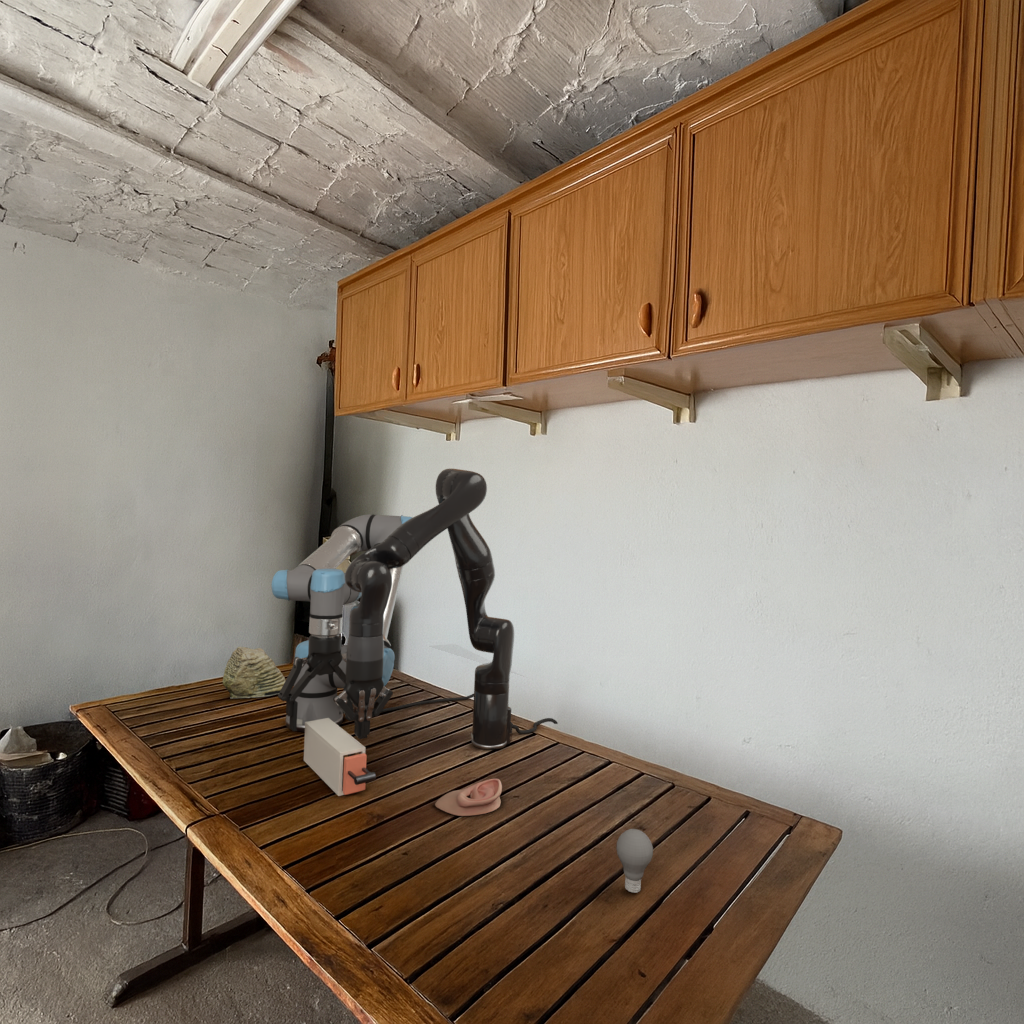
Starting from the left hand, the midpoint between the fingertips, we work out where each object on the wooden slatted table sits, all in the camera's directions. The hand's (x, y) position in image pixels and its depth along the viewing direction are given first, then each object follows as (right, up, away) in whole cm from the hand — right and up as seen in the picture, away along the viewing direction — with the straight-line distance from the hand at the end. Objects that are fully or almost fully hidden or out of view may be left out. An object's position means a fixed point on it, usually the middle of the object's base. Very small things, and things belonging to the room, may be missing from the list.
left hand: (321, 724), depth 150 cm
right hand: (+14, +3, -17) cm, 22 cm away
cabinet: (+4, -10, -5) cm, 12 cm away
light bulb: (+65, -13, -44) cm, 80 cm away
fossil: (-36, -7, +48) cm, 60 cm away
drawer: (+7, -9, -9) cm, 15 cm away
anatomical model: (+36, -11, -17) cm, 41 cm away
